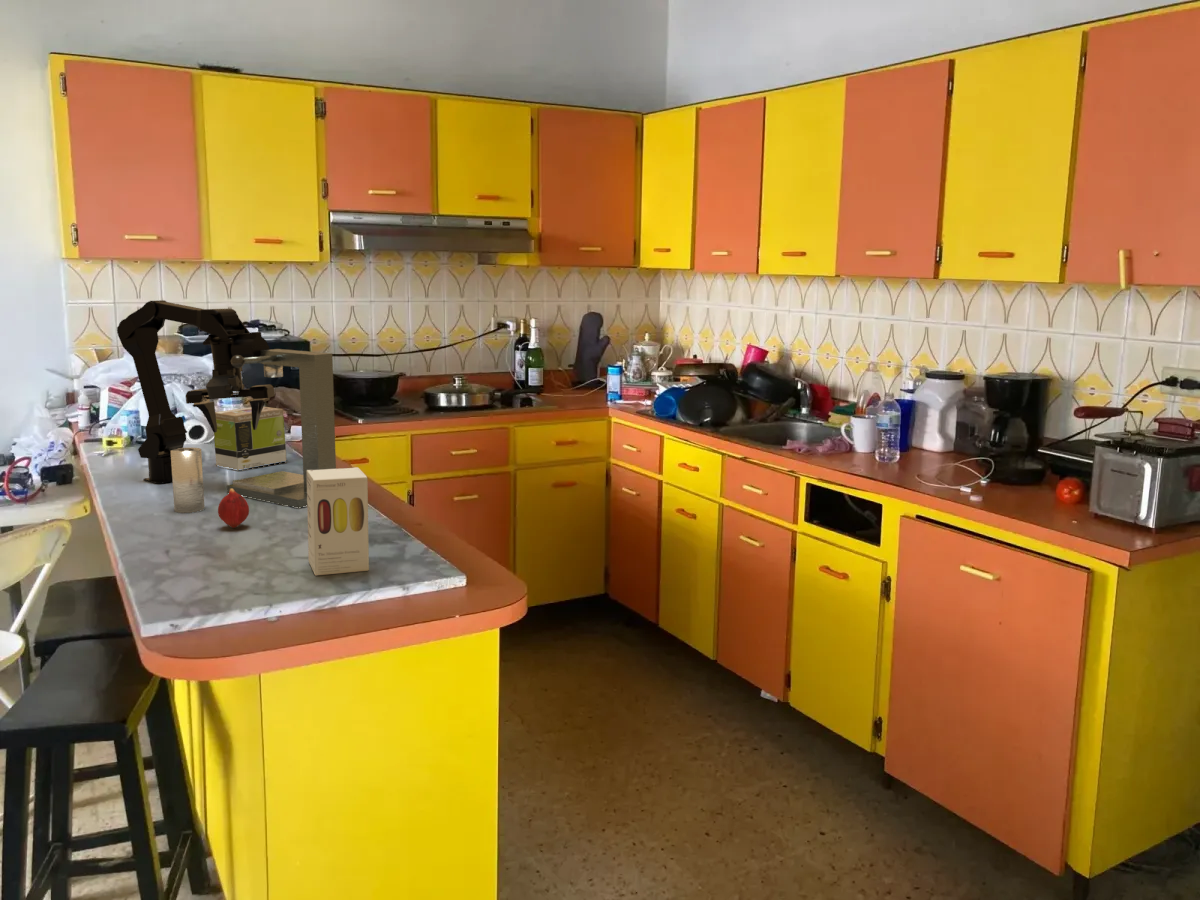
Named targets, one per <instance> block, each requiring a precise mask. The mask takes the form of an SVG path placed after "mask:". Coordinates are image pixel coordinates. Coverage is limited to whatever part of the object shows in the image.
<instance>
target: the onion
mask: <svg viewBox="0 0 1200 900" xmlns="http://www.w3.org/2000/svg"><path fill="white" fill-rule="evenodd" d="M249 513H250V507H249V504H248V502H247V499H246V498H244V497H242V496H241V495H239V494H237V493H236V492H235V491H234V489H230V491H229V494H226V495H225V496H224V497H223V498H222V499H221V501H220V502H219V504H218V507H217V514H218V517H219V519H220V520H221V521H222V522H224V523H225V525H227V526H229V527H231V528H232V529H235V528H237V527H238V526H240V525H241V524H242V523H244V522H245V521H246V519H247V518H248V516H249Z"/></svg>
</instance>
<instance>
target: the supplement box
mask: <svg viewBox="0 0 1200 900" xmlns="http://www.w3.org/2000/svg"><path fill="white" fill-rule="evenodd" d="M368 485H369V484H368V477H367V475H366V474H365V473H364V472H363V471H362V470H361V469H360V468H359V467H358V466H357V467H349V468H347V467H345V468H336V469H323V470H307V507H306V508H307V509H306V510H307V511H306V512H307V539H308V540H307V547H308V559H307V560H308V563H309V565H310V567H311V569H312V571H313V573H314V575H315V576H325V575H335V574H336V575H337V574H345V573H346V574H347V573H356V572H368V571H369V570H370V556H369V553H370V551H369V550H370V549H369V548H370V547H369V498H368V497H369V494H368V493H369V492H368V489H369V487H368Z"/></svg>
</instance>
